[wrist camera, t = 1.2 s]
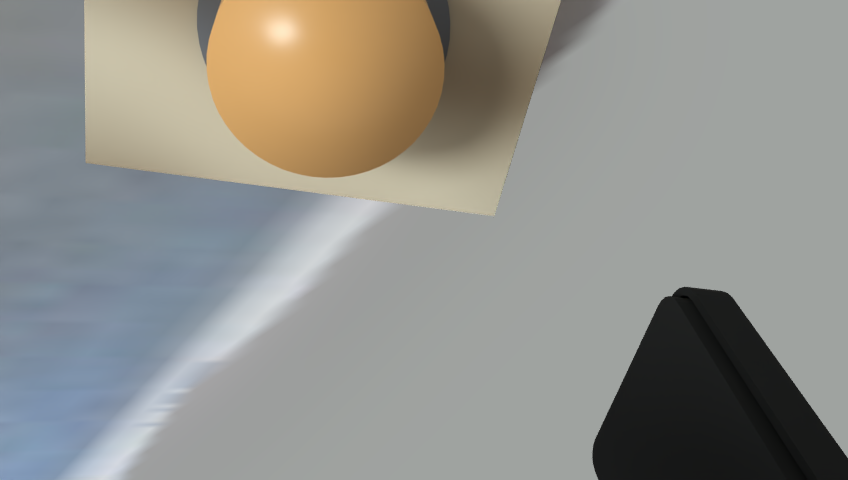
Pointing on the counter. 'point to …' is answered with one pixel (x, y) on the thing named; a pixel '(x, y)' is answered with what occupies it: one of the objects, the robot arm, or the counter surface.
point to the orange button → (325, 80)
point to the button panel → (231, 161)
